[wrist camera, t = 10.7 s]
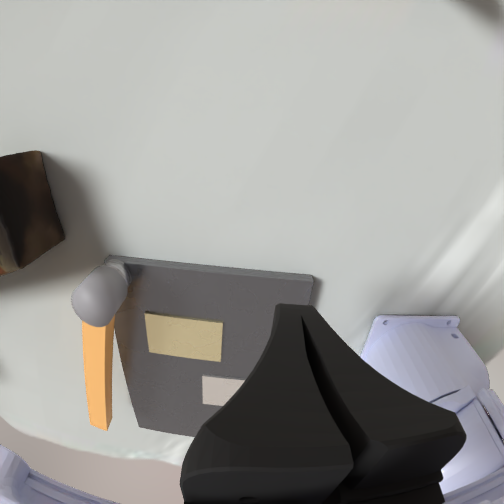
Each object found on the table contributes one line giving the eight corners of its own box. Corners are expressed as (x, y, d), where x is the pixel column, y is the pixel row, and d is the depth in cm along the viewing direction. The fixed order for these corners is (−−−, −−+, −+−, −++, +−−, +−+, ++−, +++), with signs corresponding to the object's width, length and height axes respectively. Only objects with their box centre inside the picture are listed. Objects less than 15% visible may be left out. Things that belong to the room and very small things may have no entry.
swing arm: (91, 260, 18) (71, 279, 16) (130, 273, 19) (113, 295, 16) (92, 406, 25) (83, 425, 23) (118, 416, 25) (111, 437, 23)
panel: (311, 272, 22) (317, 289, 19) (271, 436, 30) (271, 453, 28) (107, 252, 21) (93, 265, 19) (139, 420, 30) (134, 435, 27)
